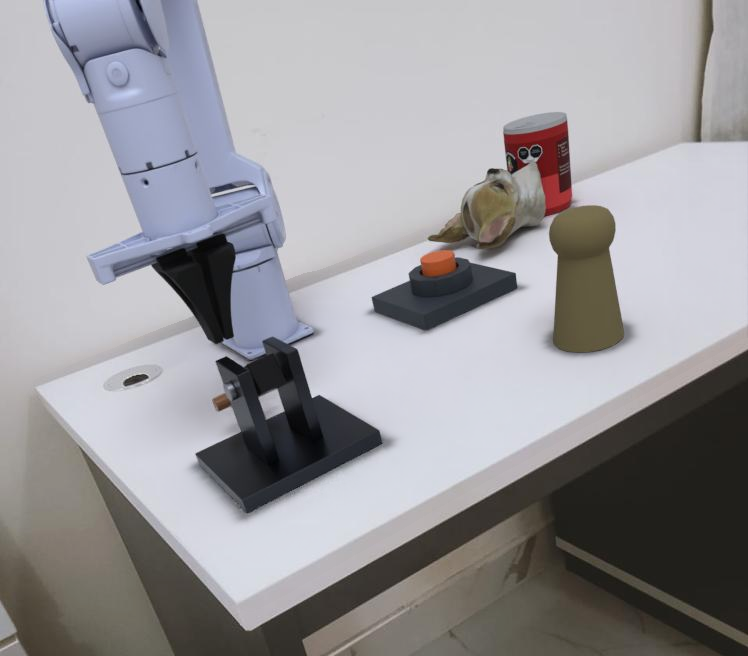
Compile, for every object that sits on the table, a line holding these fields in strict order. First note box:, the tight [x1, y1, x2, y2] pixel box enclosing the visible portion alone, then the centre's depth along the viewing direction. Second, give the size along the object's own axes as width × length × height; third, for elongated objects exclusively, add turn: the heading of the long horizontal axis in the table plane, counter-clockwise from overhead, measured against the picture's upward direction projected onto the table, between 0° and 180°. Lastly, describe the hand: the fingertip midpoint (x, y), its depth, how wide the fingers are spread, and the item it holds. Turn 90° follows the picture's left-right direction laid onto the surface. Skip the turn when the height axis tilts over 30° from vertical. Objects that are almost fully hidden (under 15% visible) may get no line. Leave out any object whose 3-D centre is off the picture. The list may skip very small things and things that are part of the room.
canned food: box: [502, 111, 573, 217], centre depth 98 cm, size 8×8×11 cm
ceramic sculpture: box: [427, 161, 546, 250], centre depth 92 cm, size 11×9×15 cm
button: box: [419, 249, 457, 276], centre depth 79 cm, size 4×4×2 cm
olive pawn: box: [548, 204, 625, 353], centre depth 63 cm, size 6×6×11 cm
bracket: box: [194, 336, 383, 514], centre depth 58 cm, size 10×12×9 cm
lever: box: [211, 353, 287, 412], centre depth 60 cm, size 10×5×2 cm, turn 32°
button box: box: [371, 256, 518, 331], centre depth 80 cm, size 10×12×4 cm
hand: (220, 338), depth 61 cm, fingers closed
